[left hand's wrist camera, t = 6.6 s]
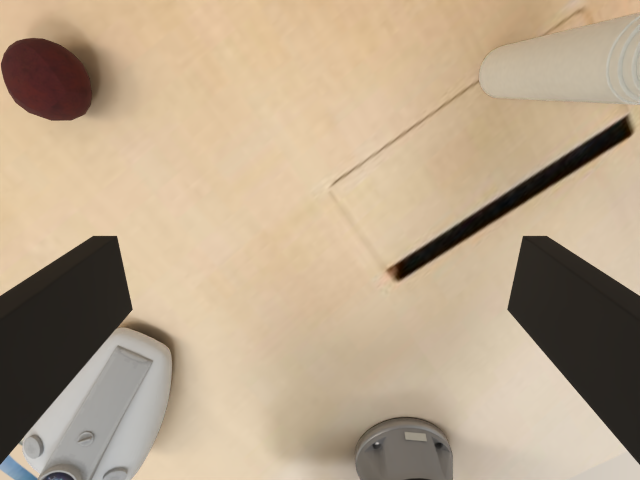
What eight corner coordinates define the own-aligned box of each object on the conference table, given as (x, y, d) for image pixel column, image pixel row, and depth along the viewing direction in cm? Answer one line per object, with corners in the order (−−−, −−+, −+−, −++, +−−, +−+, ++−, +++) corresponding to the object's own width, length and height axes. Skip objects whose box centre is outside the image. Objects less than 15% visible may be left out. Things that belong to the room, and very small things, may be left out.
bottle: (519, 100, 42) (780, 114, 18) (473, 95, 41) (675, 103, 18) (534, 47, 40) (846, -14, 16) (485, 42, 40) (729, -27, 16)
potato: (67, 27, 39) (15, 15, 32) (121, 94, 41) (83, 95, 35) (19, 71, 40) (-39, 67, 34) (74, 133, 43) (29, 141, 36)
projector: (219, 428, 59) (189, 528, 46) (90, 459, 62) (26, 563, 48) (155, 313, 52) (96, 393, 38) (11, 354, 54) (-93, 442, 40)
